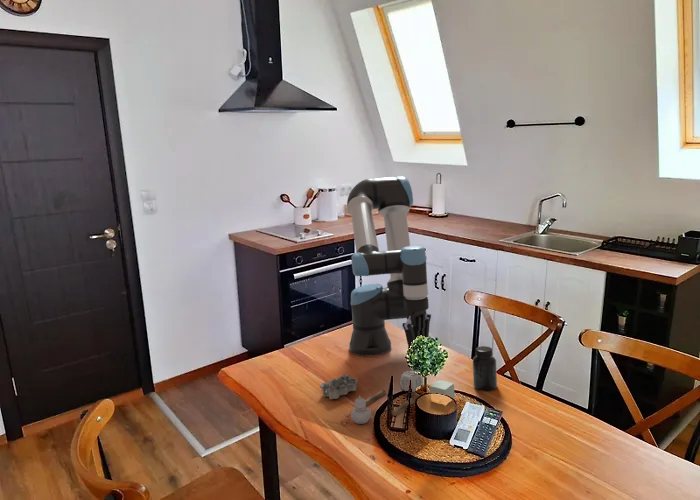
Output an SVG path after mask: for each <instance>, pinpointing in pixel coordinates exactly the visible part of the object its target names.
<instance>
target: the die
mask: <svg viewBox="0 0 700 500" xmlns="http://www.w3.org/2000/svg"><path fill="white" fill-rule="evenodd" d="M414 371H415V370H407V371H404V372H403V373H402V374H401V376H400V379H399V380H400V382H399V383H400V387H401V388H402V390H403V391H405V392H406V391H408V388H409V383H410V380H411V389H412V392H411V393H416V392H415V390H416V388H417V387H419V386H421V385H422V386H423V383H424V382H423V376H422V375H421V376H419V375H418V374H417V373H415V372H414Z"/></svg>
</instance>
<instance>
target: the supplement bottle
mask: <svg viewBox="0 0 700 500" xmlns="http://www.w3.org/2000/svg"><path fill="white" fill-rule="evenodd" d="M493 354H494V353H493V348H492V347H490V346H484V345H482V346H480V345H479V346H477V347H476V348H475V356H474V357H473V358H472V376H473V386H474V388H475V389H477V390H479V391H483V392H491V391H494V390H495V389H496V388H497V387H498V379H497V378H498V376H497V374H498V373H497V359H496V357H495V356H494V355H493Z"/></svg>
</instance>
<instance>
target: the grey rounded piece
mask: <svg viewBox="0 0 700 500" xmlns="http://www.w3.org/2000/svg"><path fill="white" fill-rule="evenodd" d="M358 395H359V394H358ZM365 400H366V399H364V397H361V396H360V395H359V396H358V397H356V398H355V400H354V403H353V404H354V408H353V409H352V410H351V411H350V416H351V417H350V418H351V419H352V421H353V422H354V423H356V424H358V425H363V424H366V423H368V422H369V421H370V420H371V418H372V411H371V409H370V408H368V407H367V406H366V402H365Z"/></svg>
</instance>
